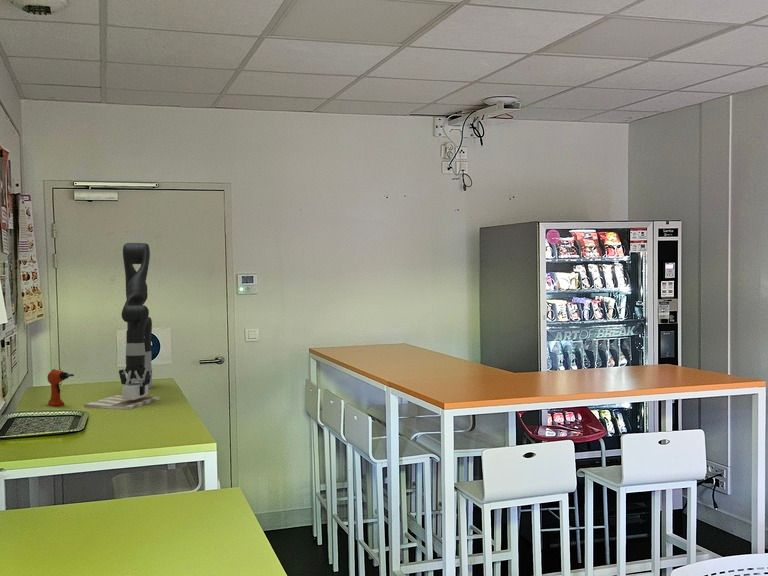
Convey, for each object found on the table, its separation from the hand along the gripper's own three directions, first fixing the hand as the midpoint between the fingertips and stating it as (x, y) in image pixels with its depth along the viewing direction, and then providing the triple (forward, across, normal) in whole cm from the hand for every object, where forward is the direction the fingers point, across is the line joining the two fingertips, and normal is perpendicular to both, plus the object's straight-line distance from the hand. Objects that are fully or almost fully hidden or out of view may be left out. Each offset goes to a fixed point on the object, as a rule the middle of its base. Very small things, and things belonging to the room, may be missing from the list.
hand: (135, 394), depth 318 cm
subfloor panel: (+4, +6, 0) cm, 7 cm away
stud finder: (+1, 0, 0) cm, 1 cm away
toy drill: (+4, +26, +12) cm, 29 cm away
